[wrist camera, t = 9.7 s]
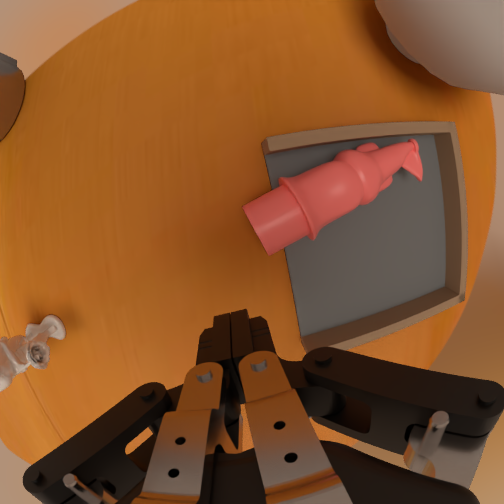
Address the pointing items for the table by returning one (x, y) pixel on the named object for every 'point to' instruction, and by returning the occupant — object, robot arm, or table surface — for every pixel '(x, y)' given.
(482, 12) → the vase
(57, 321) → the figurine
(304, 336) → the tray
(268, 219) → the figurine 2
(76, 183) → the table surface
